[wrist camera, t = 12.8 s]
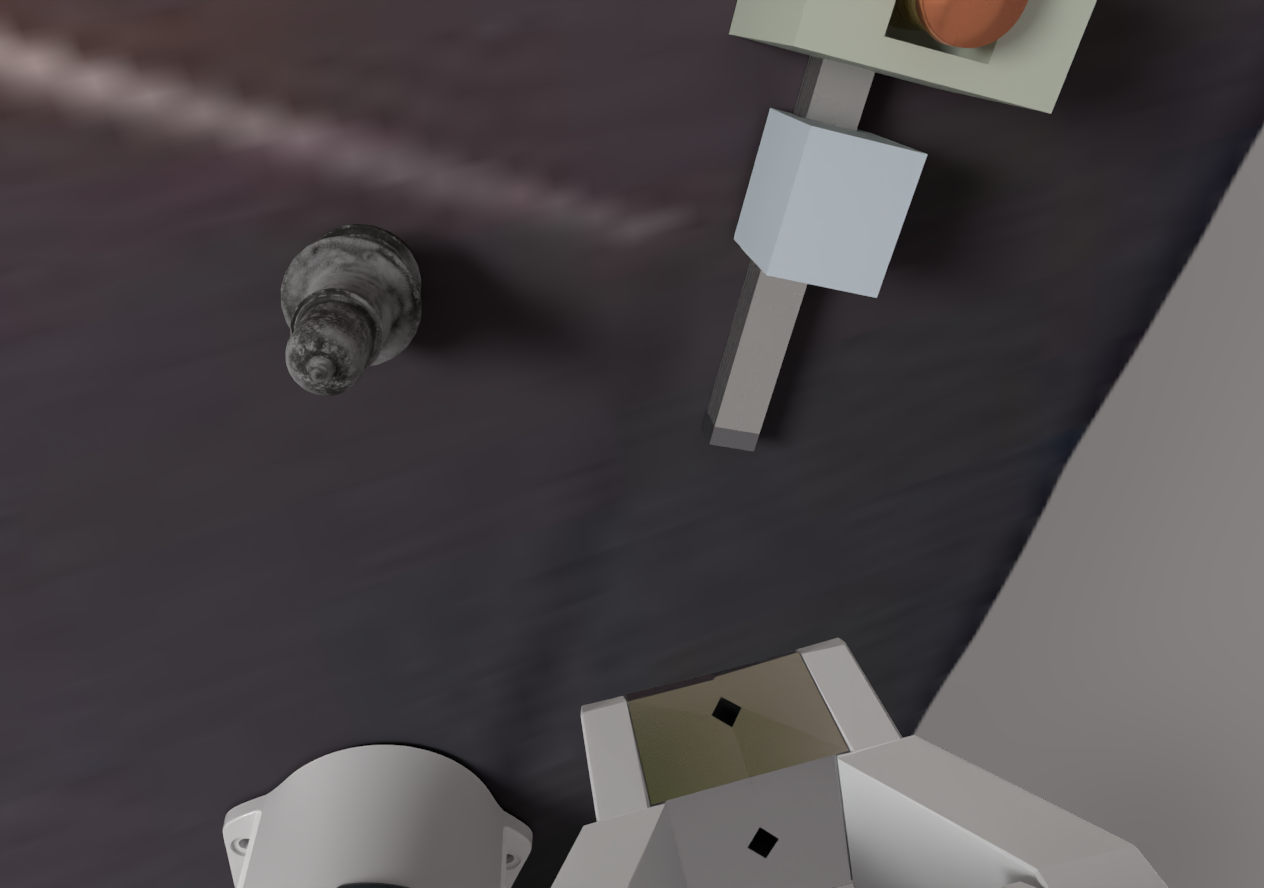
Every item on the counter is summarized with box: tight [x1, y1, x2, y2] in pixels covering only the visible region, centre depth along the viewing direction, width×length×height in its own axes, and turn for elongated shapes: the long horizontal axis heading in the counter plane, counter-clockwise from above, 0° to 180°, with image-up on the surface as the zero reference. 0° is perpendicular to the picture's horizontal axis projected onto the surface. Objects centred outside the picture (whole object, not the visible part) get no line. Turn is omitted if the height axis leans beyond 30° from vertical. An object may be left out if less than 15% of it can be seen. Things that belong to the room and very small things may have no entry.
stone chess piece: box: [281, 224, 422, 396], centre depth 37 cm, size 6×6×12 cm
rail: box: [702, 56, 875, 451], centre depth 44 cm, size 18×2×2 cm, turn 167°
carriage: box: [734, 108, 928, 298], centre depth 40 cm, size 6×5×6 cm
